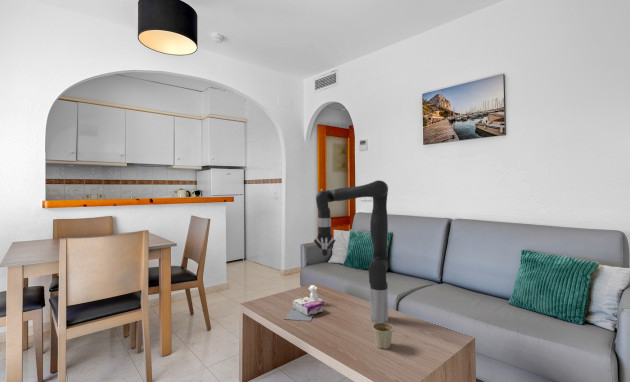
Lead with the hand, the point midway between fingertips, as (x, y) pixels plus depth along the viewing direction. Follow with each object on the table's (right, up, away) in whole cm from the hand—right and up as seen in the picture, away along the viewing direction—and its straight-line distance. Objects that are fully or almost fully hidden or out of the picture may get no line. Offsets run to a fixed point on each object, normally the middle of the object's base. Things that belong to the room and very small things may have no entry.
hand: (325, 255), depth 181 cm
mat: (-14, -33, -2) cm, 36 cm away
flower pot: (+25, -33, -37) cm, 56 cm away
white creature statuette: (-6, -33, +15) cm, 37 cm away
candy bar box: (-5, -30, -2) cm, 31 cm away
